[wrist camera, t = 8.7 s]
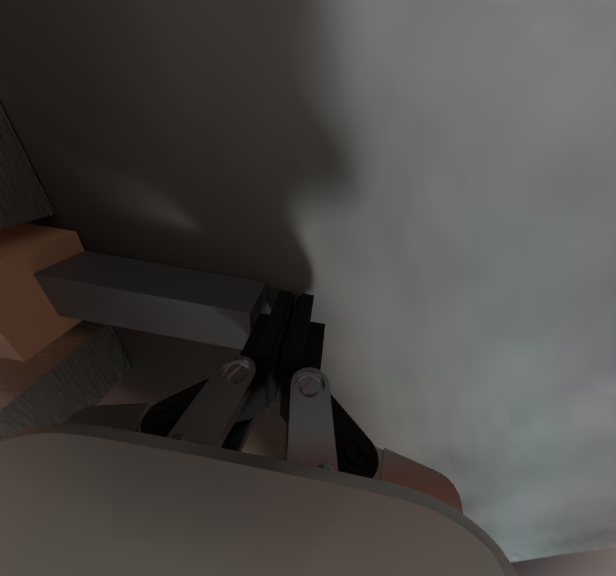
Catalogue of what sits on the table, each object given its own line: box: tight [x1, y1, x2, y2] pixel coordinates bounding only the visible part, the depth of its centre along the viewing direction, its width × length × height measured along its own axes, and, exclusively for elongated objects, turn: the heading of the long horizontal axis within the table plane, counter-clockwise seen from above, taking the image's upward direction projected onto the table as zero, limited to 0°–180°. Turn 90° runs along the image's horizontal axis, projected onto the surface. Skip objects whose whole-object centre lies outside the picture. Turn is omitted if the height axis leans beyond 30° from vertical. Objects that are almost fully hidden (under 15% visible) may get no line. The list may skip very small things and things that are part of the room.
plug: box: [0, 223, 266, 362], centre depth 11 cm, size 18×4×4 cm, turn 83°
